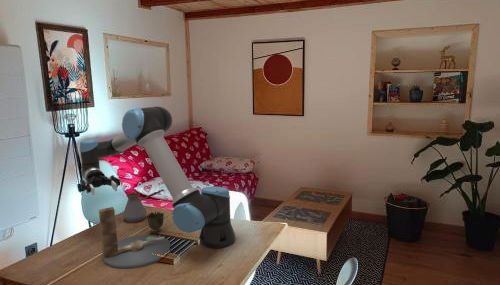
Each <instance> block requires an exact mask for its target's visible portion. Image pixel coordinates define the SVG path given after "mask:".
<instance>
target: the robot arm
mask: <svg viewBox="0 0 500 285" xmlns="http://www.w3.org/2000/svg"><path fill="white" fill-rule="evenodd" d="M172 126H173V116H172V114H171V113H170V111H169V110H168V109H167V108H164V107H162V106H148V107H141V108H140V107H136V108H132V109H128V110H127V111H126V112H125V113H124V115H123V117H122V123H121V128H122V133H120V134H118V135H116V136H115V137H113V138H111V139H110V140H106V141H105V140H103V141H100V142H99V141H98V140H97V139H96V138H92V139H91V138H89V139H82V140H81V141H80V142H79V151H80V160H81V176H82V177H83V179H80V180H79V184H80V190H81V192H86V193H87V194H90V193H91V195H92V196H95V192H96V191H95V188H100V187H102V186H108V187H109V186H110V187H111V189H112V190H114V192H117V191H118V187H119V186H121V179H120V178H118V177H116V176H115V175H113V174H112V175H110V176H107V175H105V173H104V172H103V171H102V170H101V166H100V159H102V158H106V157H111V156H117V155H120V154H123V153H124V152H125V151H126V150H128V149H130V148H131V147H133V146H135V145H138V147H142V148H144V150H145V152H146V154H147V155H148V158H149V159H150V161H151V162H152V164H153V165H154V167H155V170H156V171H157V173H158V175H159V177H160V178H161V180H162V182H163V183H164V185H165V187H166V189H167V191H168V193H169V194H170V196H171V198H172V201H171V202H172V203H171V206H172V207H173V209H172V211H171V214H172V221H173V224H174V225H175V226H176V227H177V228H178V229H179V230H180V231H181V232H185V233H187V234H192V233H195V232H197V231H200V233H199V238H198V239H199V240H200V241H199V244H200V245H201V246H202V247H203V248H204V247H205V248H208V249H222V248H226V247H229V246H231V245H233V244H234V243H235V241H236V233H235V230H234V227H233V225H232V223H231V196H230V191H229V189H228V188H226V187H222V186H205V187H202V188H201V191H200V190H199V189H198V188H195V187H193V185H192V184H191V182H190V180H189V178H188V177H187V175H186V173H185V172H184V170H183V168H182V166H181V164H180V163H179V162H178V159H177V158H176V157H175V155H174V153H173V151H172V150H171V148H170V146H169V145H168V143H167V141H166V139H165V138H164V135H165V133H166V132H168V131H169V130H170V129H171V127H172Z"/></svg>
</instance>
